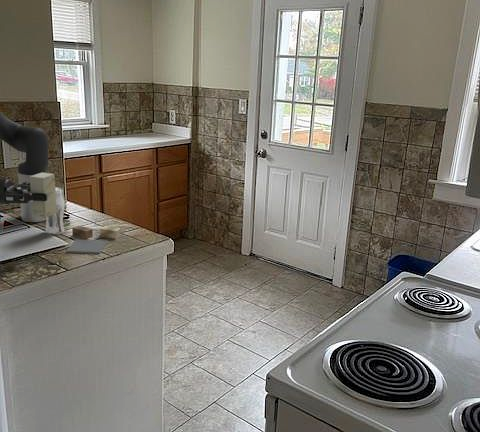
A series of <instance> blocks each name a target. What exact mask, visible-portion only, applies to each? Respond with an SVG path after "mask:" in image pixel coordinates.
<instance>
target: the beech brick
mask: <svg viewBox="0 0 480 432" xmlns="http://www.w3.org/2000/svg"><path fill="white" fill-rule="evenodd" d="M121 231H122V230H121V228H120V227H113V226H107V225H106V226H105V225H104V226H102V227H101V228H99V237H102V238H107V239H115V240H117V239H119V238H120V237H121V236H122V235H121Z"/></svg>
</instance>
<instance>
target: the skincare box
mask: <svg viewBox="0 0 480 432" xmlns="http://www.w3.org/2000/svg"><path fill="white" fill-rule="evenodd" d="M55 181H56V177H55V173H49V172H46V173H43V172H41V173H39V174H36V175H33V176H30V188H31V192H32V193H46V194H47V201H34V200H33V201H32V215H33V216H35V217H41V218H46V217H48V216H51V215H53V214H55V213H56V212H57V210H56V193H55V187H56V182H55Z"/></svg>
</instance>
